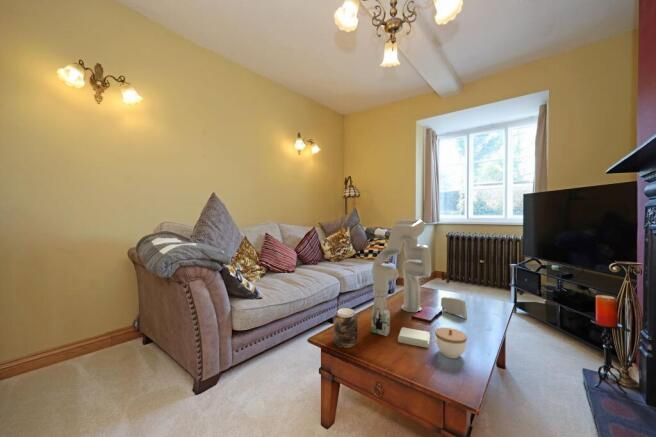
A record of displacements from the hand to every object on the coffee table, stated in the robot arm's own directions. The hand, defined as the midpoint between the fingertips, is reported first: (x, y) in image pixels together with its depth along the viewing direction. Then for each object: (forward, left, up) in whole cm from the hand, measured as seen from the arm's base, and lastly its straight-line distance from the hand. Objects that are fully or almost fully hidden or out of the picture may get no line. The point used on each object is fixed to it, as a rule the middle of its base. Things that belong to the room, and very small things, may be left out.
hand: (380, 326), depth 136 cm
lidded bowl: (+8, +33, -3) cm, 34 cm away
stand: (+1, +17, -3) cm, 17 cm away
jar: (+17, -13, -3) cm, 22 cm away
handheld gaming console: (-43, +36, -3) cm, 56 cm away
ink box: (0, 0, -3) cm, 3 cm away
